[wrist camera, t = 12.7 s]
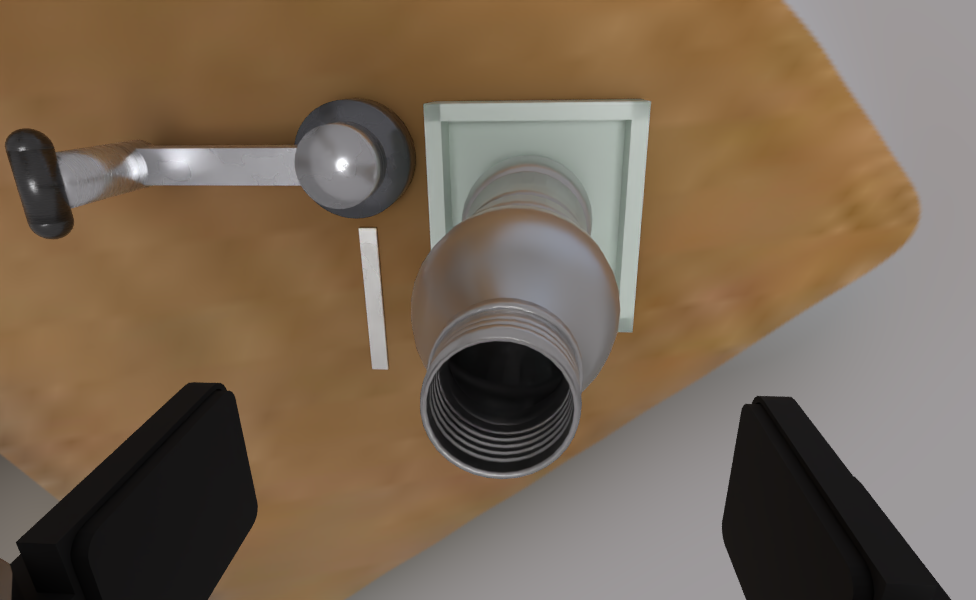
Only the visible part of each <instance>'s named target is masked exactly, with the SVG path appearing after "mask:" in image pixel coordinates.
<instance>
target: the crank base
mask: <svg viewBox="0 0 976 600" xmlns="http://www.w3.org/2000/svg"><path fill="white" fill-rule="evenodd" d="M341 121H349V122H354V123H357V124H360V125H362V126H364V127H366V128H367V129H369V130H370V131H371V132H372V133H373V134H374V135H375V136H376V137H377V138H378V140H379V141H380V143H381V145H382V147H383V149H384V152H385V155H386V161H387V168H386V174H385V178H384V180H383V183H382V184H381V186H380V187H379V189H378V190H377V191H376V192H375V193H374V194H372V195H371V196H369V197H368V198H366V199H365V200H364V201H362V202H361V203H359V204H357V205H355V206H353V207H350V208H346V209H333V208H329V207H326V206H323V205H321V204H319V203H317V202H316V201H315V202H316V203H317V204H319V205H320V206H321V207H323V208H324V209H326V210H327V211H329V212H331V213H333V214H336V215H339V216H342V217H347V218H365V217H370V216H373V215H376V214H378V213H380V212H382V211H383V210H385V209H386V208H388V207H389V206H390V205H391V204H393V203H394V202H395V201H396V200H398V199H399V198H400V197H401V196H402V195H403V193H404V192H405V191H406V190H407V188H408V186H409V185H410V183H411V180H412V178H413V174H414V171H415V163H416V156H415V148H414V144H413V140H412V138H411V135H410V133H409V131H408V129H407V127H406V126H405V125H404V123H403V122H402V120H401V119H400V118H399V117H398V116H397V115H396V114H395V113H394V112H393V111H391V110H390V109H388V108H387V107H386V106H384V105H382V104H380V103H378V102H375V101H372V100H368V99H359V98H354V99H345V100H336V101H332V102H328V103H326V104H323V105H321V106H320V107H318V108H316V109H315V110H314V111H312V112H311V113H310V114H309V115H308V116H307V117H306V118H305V120H304V121H303V123H302V124H301V126H300V128H299V130H298V132H297V135H296V139H295V144H294V145H298V144H299V142H300V141H301V139H302V138H303V137H304V136H305V135H306V134H307V133H308V132H309V131H310V130H312V129H314V128H316V127H318V126H322V125H326V124H331V123H335V122H341ZM359 237H360V247H361V257H362V268H363V278H364V288H365V299H366V309H367V319H368V330H369V340H370V350H371V360H372V369H388V368H389V365H388V353H387V341H386V330H385V318H384V306H383V295H382V283H381V271H380V260H379V248H378V236H377V228H359Z"/></svg>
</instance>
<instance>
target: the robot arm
mask: <svg viewBox="0 0 976 600" xmlns="http://www.w3.org/2000/svg"><path fill="white" fill-rule="evenodd" d="M257 508H258V505H257V499H256V494H255V489H254V485H253V480H252V475H251V470H250V466H249V461H248V456H247V451H246V447H245V442H244V437H243V432H242V428H241V423H240V418H239V413H238V409H237V404H236V399H235V396H234V394H233V393H232V392H231V391H227V390H226V388H225V386H224V385H223V384H221V383H196V382H193V383H188V384H187V385H185V386H184V387H183V388H182V389H181V390H180V391H179V392H177V393H176V394H175V395H174V396H173V397H172V398H171V399H170V400H169V401H168V402H167V403H166V404H165V405H163V406H162V407H161V408H160V409H159V410H158V411H157V412H156V413H155V414H154V415H153V416H152V417H150V418H149V419H148V420H147V421H146V422H145V423H144V424H143V425H142V426H141V427H140V428H139V429H138V430H136V431H135V432H134V433H133V434H132V435H131V436H130V437H129V438H128V439H127V440H126V441H125V442H124V443H122V444H121V445H120V446H119V447H118V448H117V449H116V450H115V451H114V452H113V453H112V454H111V455H109V456H108V457H107V458H106V459H105V460H104V461H103V462H102V463H101V464H100V465H99V466H98V467H97V468H95V469H94V470H93V471H92V472H91V473H90V474H89V475H88V476H87V477H86V478H85V479H84V480H83V481H81V482H80V483H79V484H78V485H77V486H76V487H75V488H74V489H73V490H72V491H71V492H70V493H68V494H67V495H66V496H65V497H64V498H63V499H62V500H61V501H60V502H59V503H58V504H57V505H56V506H54V507H53V508H52V509H51V510H50V511H49V512H48V513H47V514H46V515H45V516H44V517H43V518H42V519H40V520H39V521H38V522H37V523H36V524H35V525H34V526H33V527H32V528H31V529H30V530H29V531H27V533H25V534H24V535H23V536H22V537H21V538H20V539H19V540H18V541H17V542H16V544H17V546H18V549H19V551H20V553H21V554H20V555H19V556H18V557H17V558H16V559H15V560H14V561H13V562H12V563H11V564H9V563H7V562H6V561H4V560H3V559H1V558H0V600H208V598H209V597H210V595H211V593H212V592H213V590H214V588H215V587H216V585H217V583H218V582H219V580H220V579H221V577H222V575H223V574H224V572H225V570H226V569H227V567H228V565H229V564H230V562H231V560H232V559H233V557H234V555H235V554H236V552H237V551H238V549H239V547H240V546H241V544H242V542H243V541H244V539H245V537H246V536H247V534H248V532H249V531H250V529H251V528H252V526H253V524H254V522H255V519H256V516H257ZM722 534H723V540H724V544H725V547H726V549H727V551H728V554H729V557H730V559H731V562H732V564H733V567H734V569H735V572H736V575H737V577H738V580H739V582H740V585H741V587H742V590H743V593H744V595H745V598H746V600H951V599H950V598H949V596H948V595H947V594H946V592H945V591H944V590H943V589H942V587H941V586H940V585H939V583H938V582H937V581H936V580H935V578H934V577H933V576H932V574H931V573H930V572H929V570H928V569H927V568H926V567H925V565H924V564H923V563H922V561H921V560H920V559H919V558H918V556H917V555H916V554H915V552H914V551H913V550H912V549H911V547H910V546H909V545H908V544H907V542H906V541H905V539H904V538H903V537H902V535H901V534H900V533H899V532H898V530H897V529H896V528H895V526H894V525H893V524H892V523H891V521H890V520H889V519H888V517H887V516H886V515H885V513H884V512H883V511H882V510H881V508H880V507H879V506H878V504H877V503H876V502H875V500H874V499H873V498H872V497H871V495H870V494H869V493H868V491H867V490H866V489H865V488H864V486H863V485H862V484H861V483H860V482H859V481H858V480H857V479H856V478H855V477H853V476H852V474H851V473H850V471H849V470H848V469H847V468H846V466H845V465H844V464H843V462H842V461H841V460H840V458H839V457H838V456H837V454H836V453H835V452H834V450H833V449H832V448H831V447H830V445H829V444H828V443H827V441H826V440H825V439H824V437H823V436H822V435H821V434H820V432H819V431H818V430H817V428H816V427H815V426H814V424H813V423H812V422H811V420H810V419H809V418H808V417H807V415H806V414H805V413H804V411H803V410H802V409H801V407H800V406H799V405H798V403H797V402H796V401H795V400H794V399H793V398H792V397H775V396H757V397H755V398H754V400H753V402H752V404H745V405H744V406H743V408H742V411H741V417H740V422H739V428H738V434H737V439H736V445H735V451H734V457H733V463H732V468H731V475H730V480H729V486H728V492H727V497H726V503H725V509H724V515H723V520H722Z"/></svg>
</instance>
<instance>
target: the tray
mask: <svg viewBox="0 0 976 600" xmlns="http://www.w3.org/2000/svg"><path fill="white" fill-rule="evenodd" d="M423 106H424V125H425V144H426V163H427V182H428V201H429V221H430V240H431V250H432V248H433V247H434V245H436V244H437V243H438V242H439V241H440V240H441V239H442V238H443V237H444V236H445V235H446V234H447V233H448V232H449V231H450V230H451V229H452V228H453V227H454V226H455V225H457V224H459V223H460V222H462V214H463V209H464V204H465V201H466V199H467V196H468V194H469V192H470V190H471V188H472V187H473V185H474V184H475V182H476V181H477V180H478V178H480V177H481V176H482V175H483V174H484V173H485V172H486V171H487V170H488V169H489V168H491V167H492V166H494V165H496V164H497V163H499V162H501V161H504V160H506V159H509V158H512V157H517V156H523V155H533V156H541V157H545V158H549V159H552V160H554V161H556V162H558V163H560V164H562V165H564V166H565V167H566V168H568V169H569V170H570V171H571V172H573V173H574V175H575V176H576V177H577V178H578V179H579V180H580V182H581V183H582V185H583V187H584V188H585V190H586V192H587V194H588V197H589V200H590V204H591V208H592V219H593V221H592V230H591V236H590V237H591V238H592V239H593V240H594V241H595V242H596V244H597V245H598V246H599V247H600V249H601V251H602V252H603V254H604V256H605V258H606V259H607V261H608V263H609V265H610V267H611V269H612V270H613V273H614V276H615V280H616V283H617V286H618V290H619V299H620V318H619V326H618V332H632V330H633V318H634V305H635V293H636V281H637V268H638V256H639V243H640V231H641V219H642V206H643V194H644V181H645V169H646V156H647V144H648V132H649V119H650V107H651V101H648V100H644V99H586V100H504V101H434V102H430V103H426V104H423Z"/></svg>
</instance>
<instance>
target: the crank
mask: <svg viewBox="0 0 976 600" xmlns="http://www.w3.org/2000/svg"><path fill="white" fill-rule="evenodd" d="M5 149H6V153H7V156H8V159H9V162H10V166H11V169H12V172H13V176H14V179H15V182H16V185H17V189H18V192H19V195H20V199H21V202H22V205H23V208H24V212H25V215H26V218H27V222H28V224H29V227H30V228H31V230H32V231H33V232H34V233H35V234H37V235H38V236H40V237H43V238H46V239H59V238H62V237H64V236H66V235H67V234H69V233H70V232H71V230H72V228H73V226H74V218H73V214H72V211H71V208H74V207H78V206H81V205H85V204H89V203H92V202H96V201H99V200H103V199H106V198H110V197H114V196H117V195H121V194H124V193H128V192H132V191H135V190H139V189H142V188H146V187H149V186H153V185H301V186H302V188H303V189H304V191H305V192H306V193H307V194H308V195H309V196H310V197H311V198H312V199H313V200H314V201H316V202H317V203H319V204H321V205H323V206H326V207H329V208H333V209H346V208H350V207H353V206H355V205H357V204H359V203H361V202H362V201H364V200H365V199H366V198H368V197H369V196H371V195H372V194H374V193H375V192H376V191H377V190H378V189H379V187H380V186H381V184H382V183H383V180H384V178H385V174H386V168H387V161H386V155H385V152H384V149H383V147H382V145H381V143H380V141H379V140H378V138H377V137H376V136H375V135H374V134H373V133H372V132H371V131H370V130H369V129H367V128H366V127H364V126H362V125H360V124H357V123H354V122H349V121H341V122H335V123H331V124H326V125H322V126H318V127H316V128H314V129H312V130H310V131H309V132H308V133H307V134H306V135H305V136H304V137H303V138H302V139H301V141H300V142H299V144H298V145H164V146H153V145H152V144H150V143H148V142H146V141H143V140H131V141H124V142H118V143H112V144H105V145H99V146H93V147H86V148H80V149H73V150H67V151H61V152H55V149H54V146H53V143H52V142H51V140H50V139H49V138H48V137H47V136H46V135H45V134H43V133H41V132H40V131H37V130H34V129H26V128H24V129H19V130H16V131H14V132H12V133H11V134H10V135H9V136H8V137H7V139H6V142H5Z"/></svg>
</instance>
